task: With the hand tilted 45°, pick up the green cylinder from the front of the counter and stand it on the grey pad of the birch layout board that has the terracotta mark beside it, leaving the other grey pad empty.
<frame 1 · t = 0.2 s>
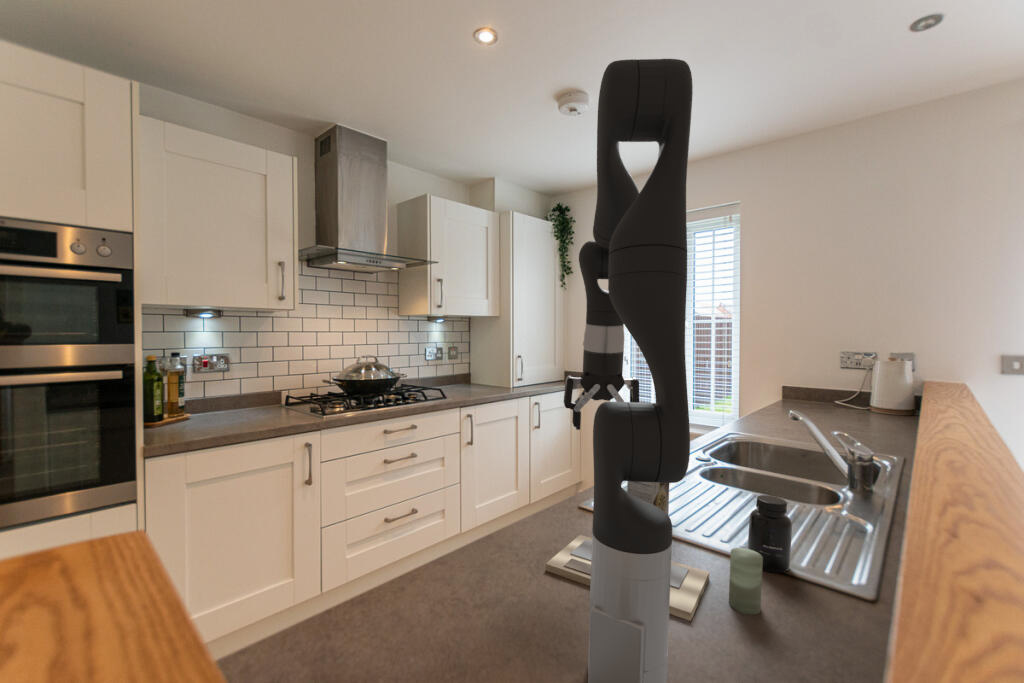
hand: (599, 429, 91), 22 cm above the table, tool pointing down, fingers open, 8 cm apart
supplement bottle: (768, 565, 85), on the table
coffee box: (647, 521, 103), on the table
layout board: (626, 574, 80), on the table
green cylinder: (744, 605, 71), on the table
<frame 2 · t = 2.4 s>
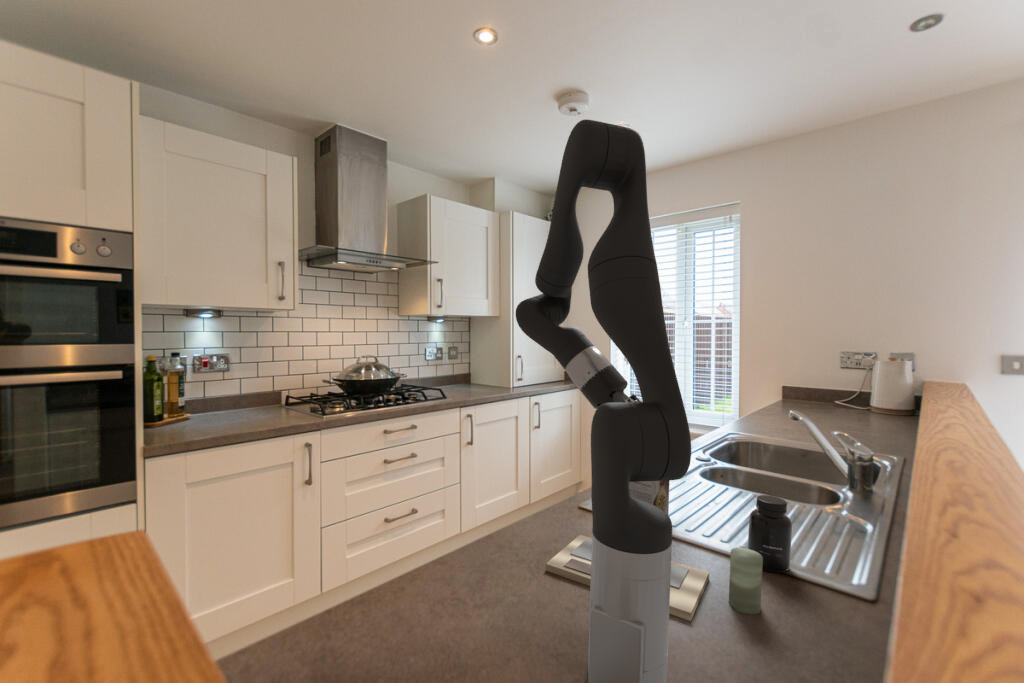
hand: (656, 449, 79), 22 cm above the table, tool tilted 45°, fingers open, 8 cm apart
nothing on the table moved.
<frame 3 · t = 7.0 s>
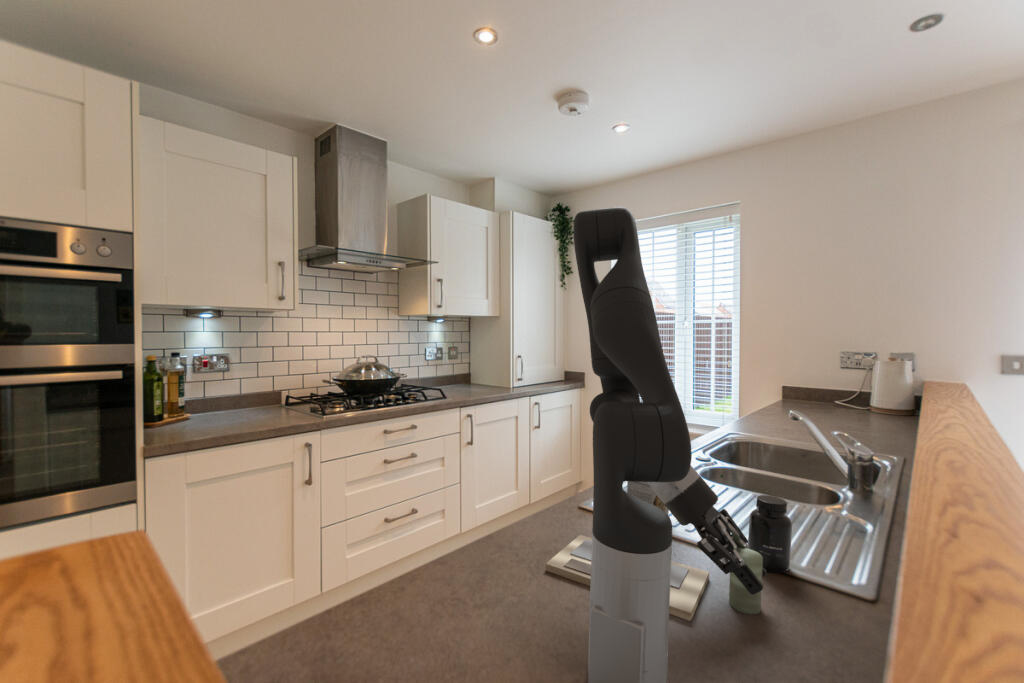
hand: (759, 583, 70), 4 cm above the table, tool tilted 45°, fingers closed on green cylinder, 4 cm apart
green cylinder: (744, 605, 71), on the table, touching gripper
everything else where it was.
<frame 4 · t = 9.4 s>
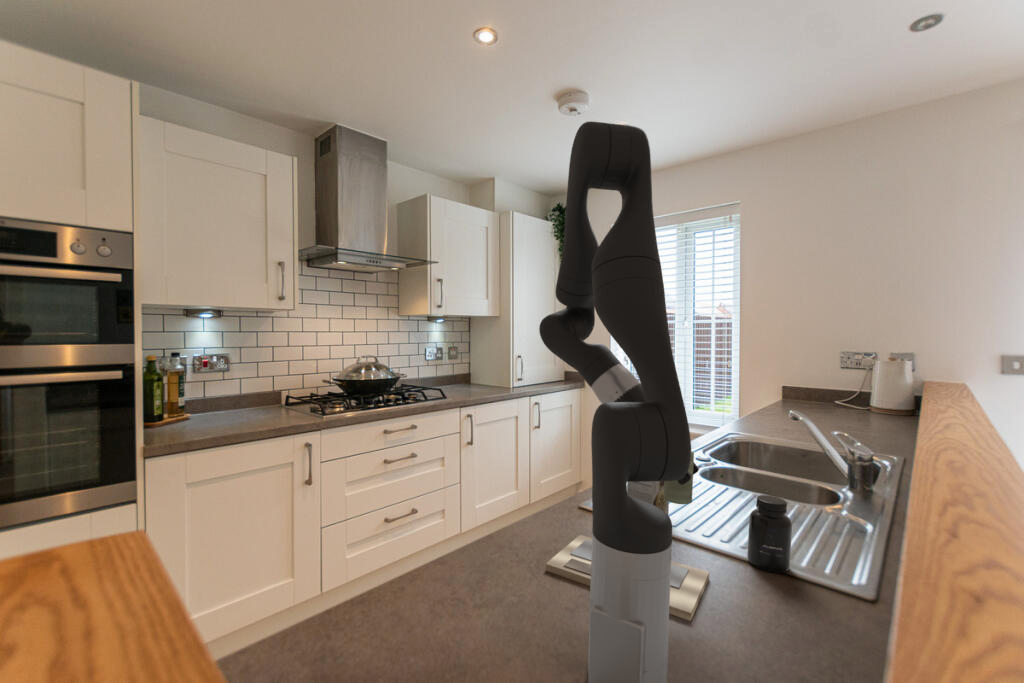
hand: (690, 477, 76), 18 cm above the table, tool tilted 45°, fingers closed on green cylinder, 4 cm apart
green cylinder: (677, 499, 77), point 14 cm above the table, touching gripper
everything else where it was.
when the fingers open (7 cm above the table, at t = 12.1 s): green cylinder drops 2 cm, resting on layout board.
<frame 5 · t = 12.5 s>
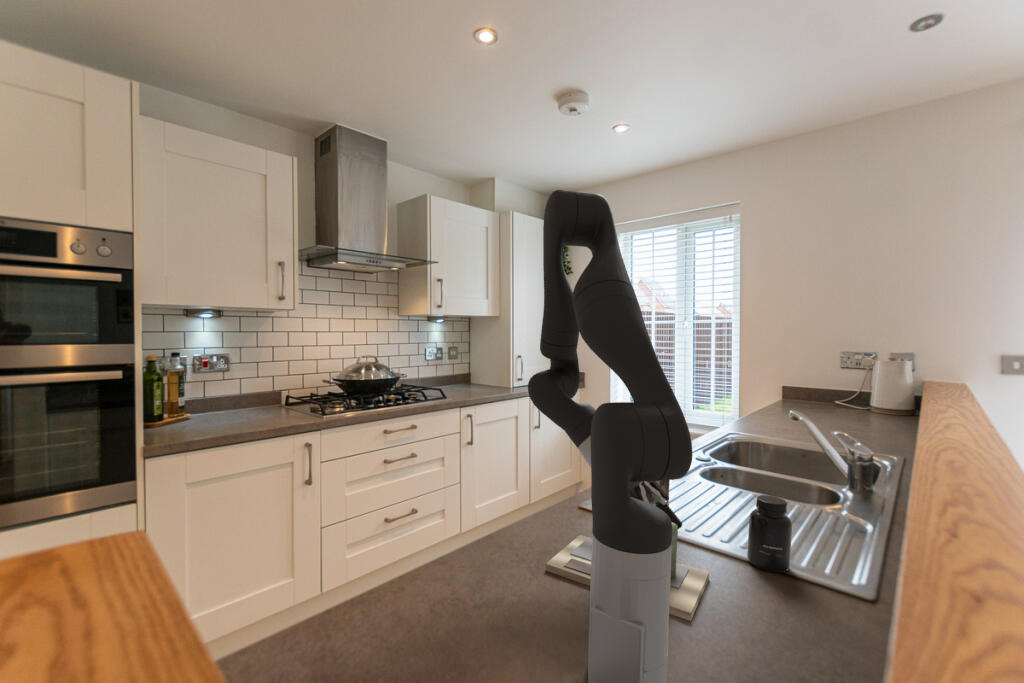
hand: (672, 537, 77), 8 cm above the table, tool tilted 45°, fingers open, 8 cm apart
green cylinder: (661, 571, 78), point 1 cm above the table, touching layout board
everything else where it was.
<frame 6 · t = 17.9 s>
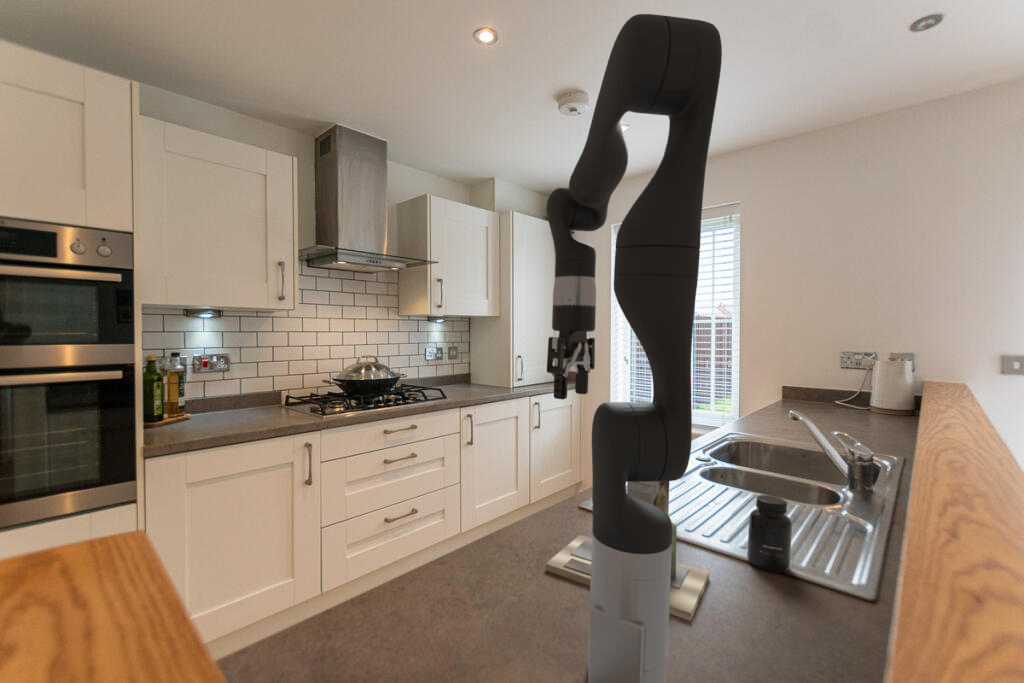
hand: (571, 396, 82), 30 cm above the table, tool pointing down, fingers open, 8 cm apart
nothing on the table moved.
at the end: green cylinder 0.1 cm from the target spot, point 1.5 cm above the table; green cylinder tilted 2°; the gripper is holding nothing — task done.
